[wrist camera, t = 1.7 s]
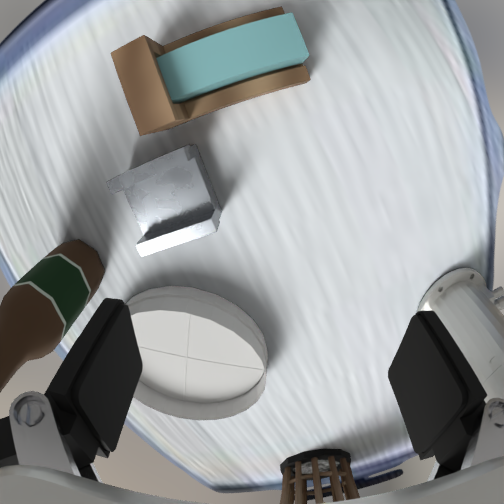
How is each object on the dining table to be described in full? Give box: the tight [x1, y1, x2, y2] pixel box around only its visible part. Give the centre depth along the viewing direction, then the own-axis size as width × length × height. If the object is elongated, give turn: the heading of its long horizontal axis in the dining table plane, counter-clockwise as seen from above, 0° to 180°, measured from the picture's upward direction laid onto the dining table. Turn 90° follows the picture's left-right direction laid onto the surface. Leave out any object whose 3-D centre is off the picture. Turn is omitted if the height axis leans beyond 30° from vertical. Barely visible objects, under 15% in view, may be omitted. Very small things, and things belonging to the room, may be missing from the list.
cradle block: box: [106, 144, 222, 257], centre depth 28 cm, size 8×8×5 cm
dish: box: [125, 286, 268, 420], centre depth 38 cm, size 22×22×5 cm
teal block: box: [156, 13, 309, 104], centre depth 21 cm, size 12×4×4 cm, turn 109°
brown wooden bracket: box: [111, 7, 310, 136], centre depth 21 cm, size 14×8×8 cm, turn 109°
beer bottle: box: [0, 239, 105, 392], centre depth 24 cm, size 8×8×24 cm
